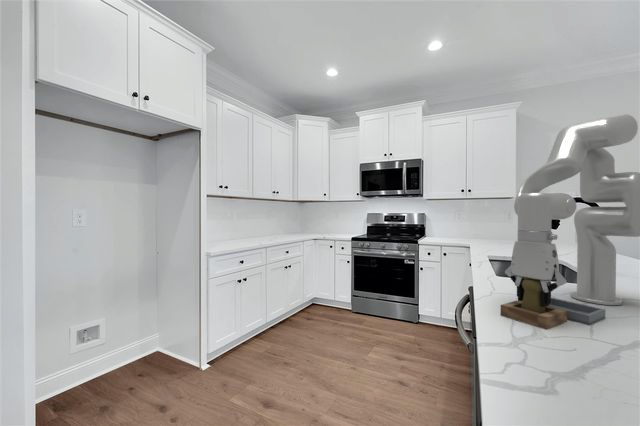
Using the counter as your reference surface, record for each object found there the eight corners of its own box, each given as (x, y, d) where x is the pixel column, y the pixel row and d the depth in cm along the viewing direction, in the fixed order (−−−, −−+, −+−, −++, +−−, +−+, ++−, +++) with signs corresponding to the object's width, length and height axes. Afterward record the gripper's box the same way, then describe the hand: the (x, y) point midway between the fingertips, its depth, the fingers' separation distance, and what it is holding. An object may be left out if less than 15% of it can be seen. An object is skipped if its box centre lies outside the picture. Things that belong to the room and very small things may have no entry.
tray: (550, 305, 92) (550, 297, 92) (605, 318, 80) (605, 309, 80) (533, 310, 87) (533, 302, 87) (589, 325, 75) (589, 315, 75)
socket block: (521, 309, 87) (521, 299, 87) (567, 321, 78) (567, 310, 78) (500, 315, 82) (500, 304, 82) (546, 329, 72) (546, 317, 72)
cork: (551, 323, 76) (552, 282, 76) (526, 321, 77) (526, 280, 77) (539, 315, 82) (539, 277, 82) (515, 313, 83) (516, 275, 83)
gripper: (578, 239, 74) (578, 310, 74) (508, 234, 89) (508, 293, 89) (565, 240, 71) (564, 315, 71) (494, 235, 85) (494, 297, 85)
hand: (533, 302), depth 80 cm, fingers closed on cork, 4 cm apart
